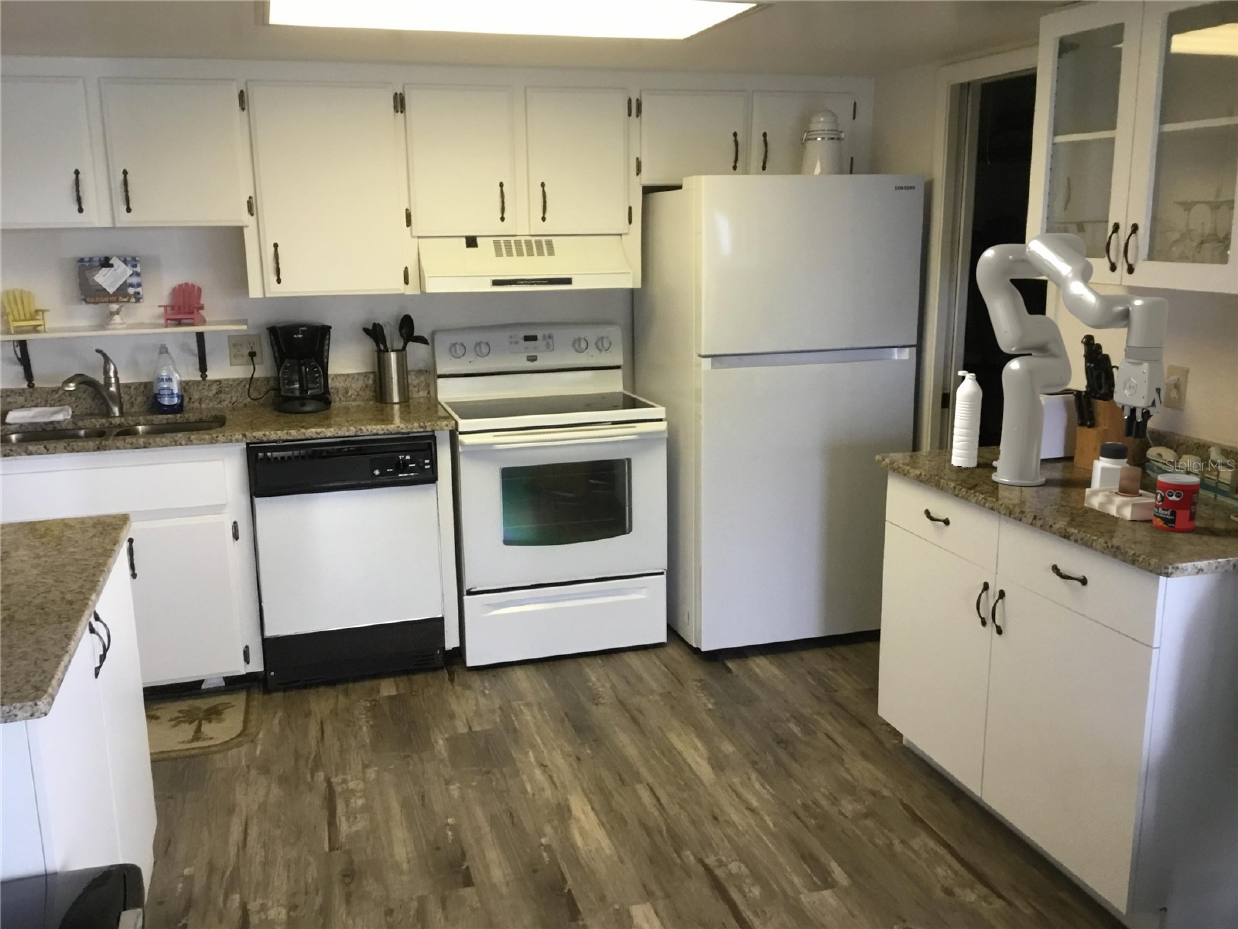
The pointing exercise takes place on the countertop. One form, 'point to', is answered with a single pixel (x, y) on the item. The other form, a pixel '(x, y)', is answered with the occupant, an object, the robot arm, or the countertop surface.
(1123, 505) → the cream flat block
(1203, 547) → the countertop surface
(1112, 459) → the medicine bottle
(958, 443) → the water bottle
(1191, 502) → the canned food
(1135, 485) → the peg
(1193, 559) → the countertop surface
